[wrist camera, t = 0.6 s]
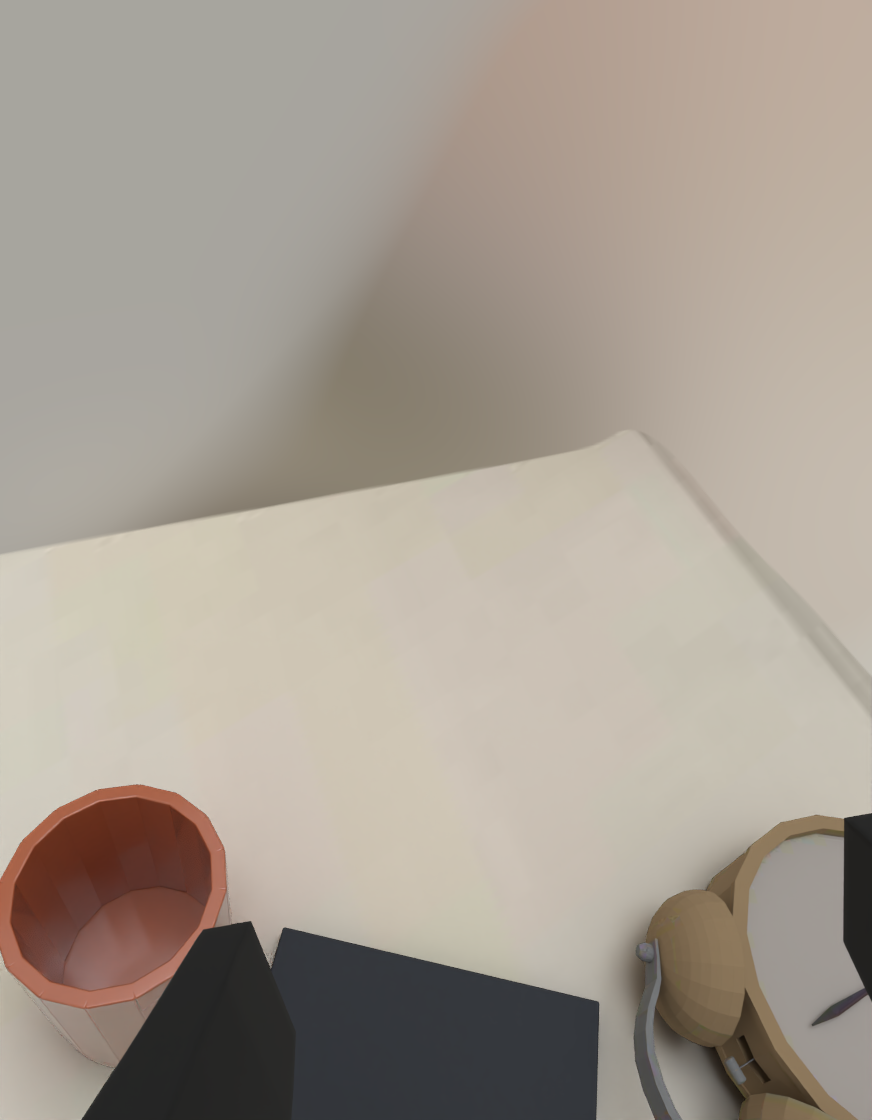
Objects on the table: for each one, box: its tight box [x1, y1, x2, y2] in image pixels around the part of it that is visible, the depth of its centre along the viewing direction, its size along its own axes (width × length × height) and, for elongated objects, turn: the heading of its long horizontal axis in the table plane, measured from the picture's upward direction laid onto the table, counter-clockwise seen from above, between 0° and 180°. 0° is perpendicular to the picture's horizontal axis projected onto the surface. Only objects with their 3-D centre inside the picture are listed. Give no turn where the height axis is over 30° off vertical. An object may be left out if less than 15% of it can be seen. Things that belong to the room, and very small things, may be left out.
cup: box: [0, 784, 232, 1067], centre depth 23 cm, size 6×6×8 cm
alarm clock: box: [634, 815, 872, 1120], centre depth 27 cm, size 11×5×15 cm
